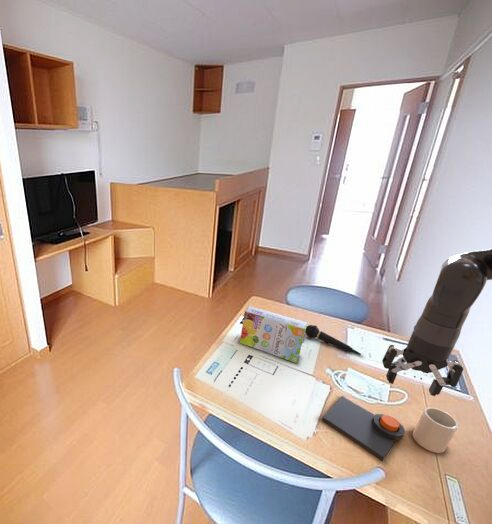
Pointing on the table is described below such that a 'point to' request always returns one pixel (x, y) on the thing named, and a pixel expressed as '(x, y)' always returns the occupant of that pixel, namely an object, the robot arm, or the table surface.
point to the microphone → (327, 338)
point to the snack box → (273, 333)
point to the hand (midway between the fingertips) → (410, 387)
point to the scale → (362, 427)
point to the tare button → (389, 423)
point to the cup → (435, 429)
